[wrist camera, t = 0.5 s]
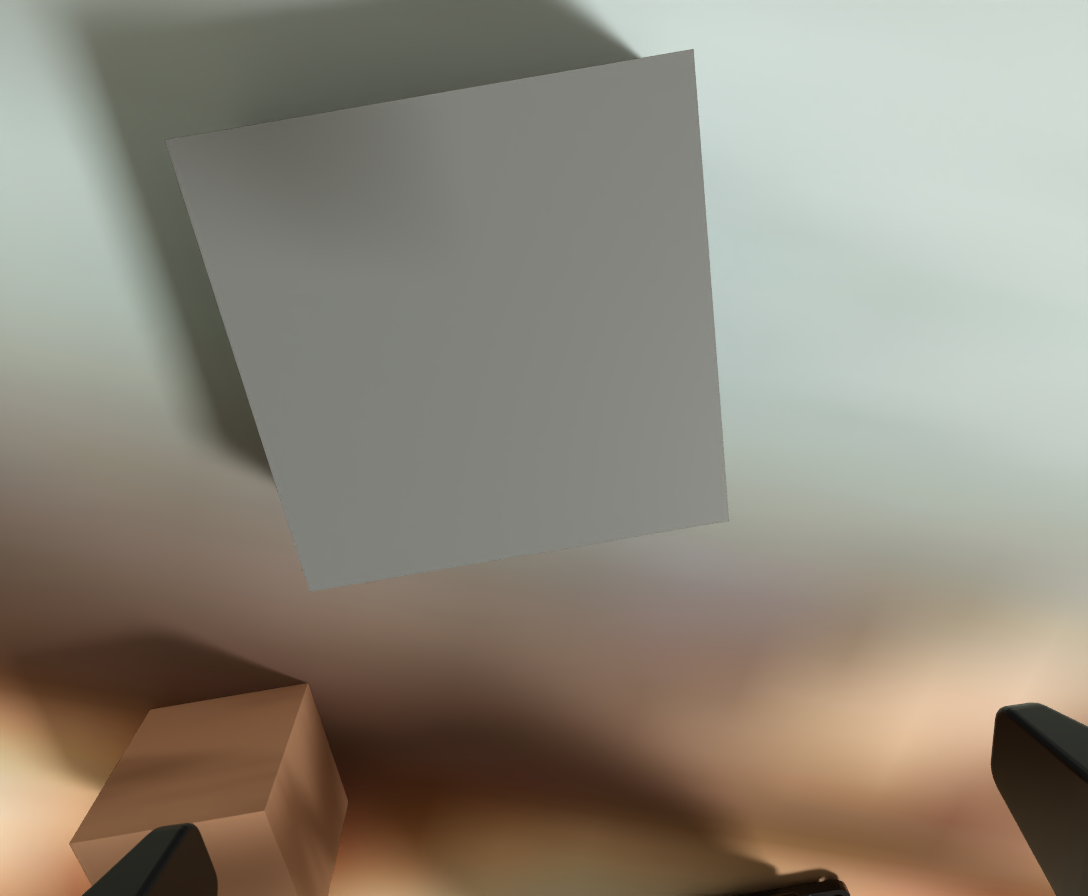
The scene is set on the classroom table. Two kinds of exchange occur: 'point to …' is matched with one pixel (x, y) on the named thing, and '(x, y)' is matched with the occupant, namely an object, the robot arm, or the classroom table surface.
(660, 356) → the base block
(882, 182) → the classroom table surface
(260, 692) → the terracotta cube
